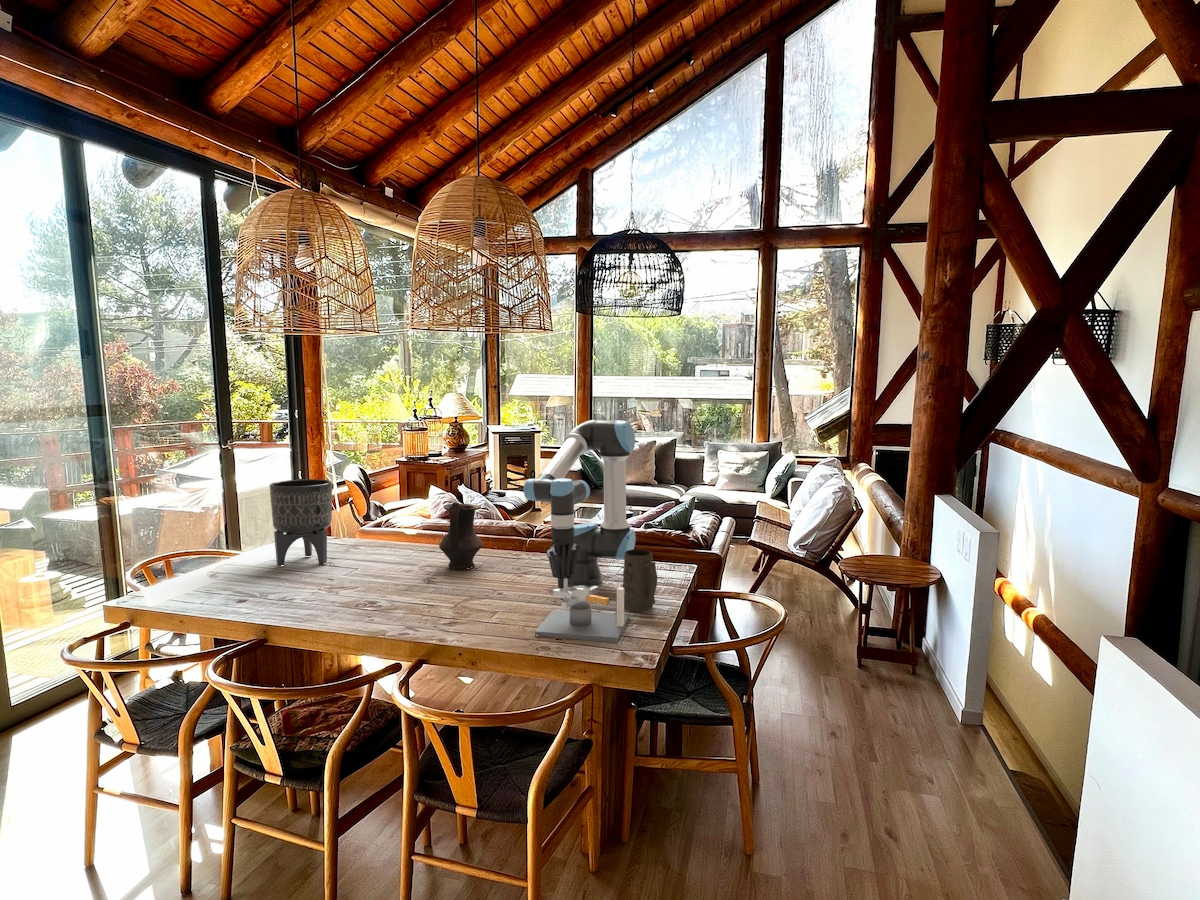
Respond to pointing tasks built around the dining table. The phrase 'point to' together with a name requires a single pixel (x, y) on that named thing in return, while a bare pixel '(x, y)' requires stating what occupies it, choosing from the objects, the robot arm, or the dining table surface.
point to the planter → (301, 515)
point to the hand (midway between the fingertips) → (563, 597)
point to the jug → (461, 536)
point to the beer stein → (639, 580)
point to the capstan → (580, 597)
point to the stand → (586, 623)
